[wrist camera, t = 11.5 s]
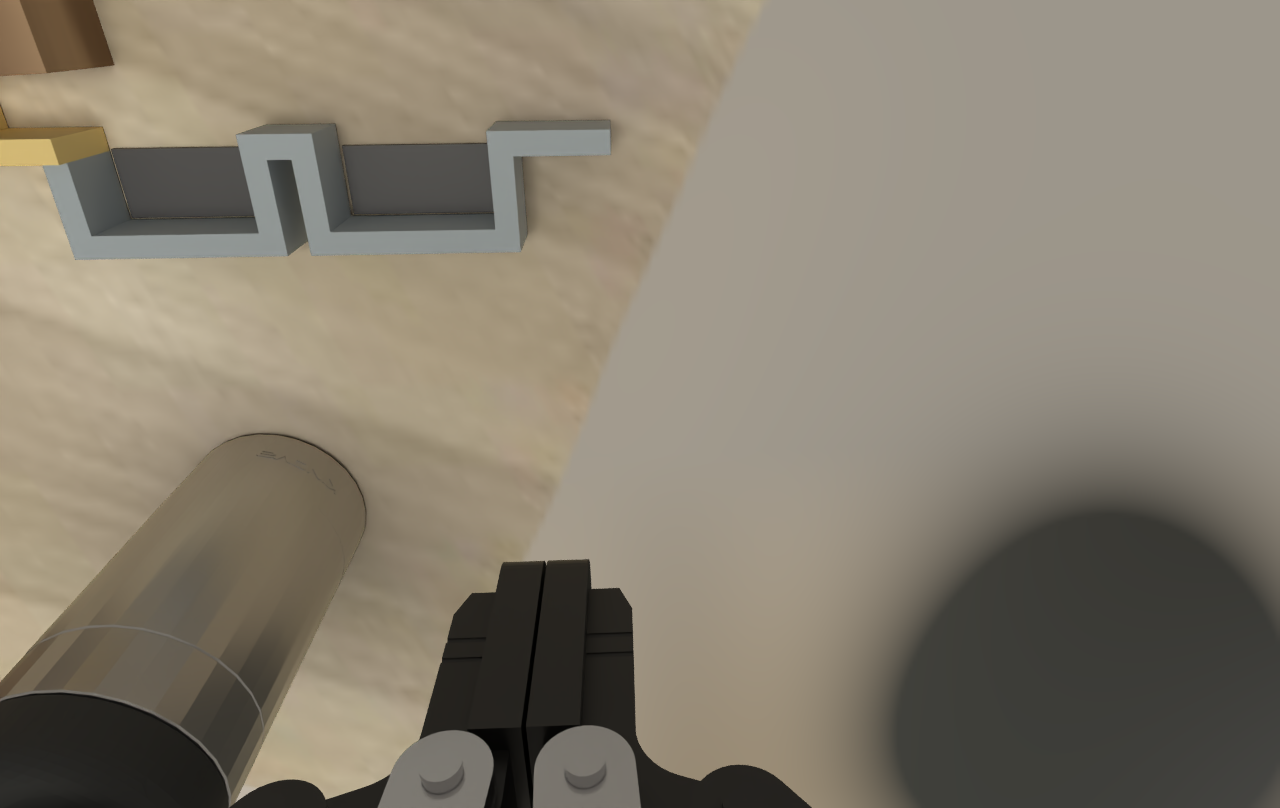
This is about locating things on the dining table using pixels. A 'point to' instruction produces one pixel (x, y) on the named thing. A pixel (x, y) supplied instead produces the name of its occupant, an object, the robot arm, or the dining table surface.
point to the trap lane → (310, 194)
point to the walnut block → (50, 37)
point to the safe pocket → (48, 144)
